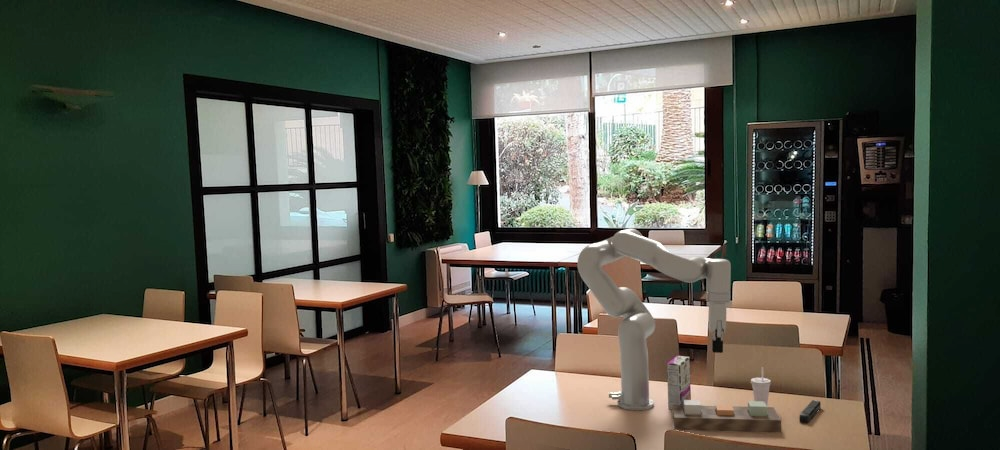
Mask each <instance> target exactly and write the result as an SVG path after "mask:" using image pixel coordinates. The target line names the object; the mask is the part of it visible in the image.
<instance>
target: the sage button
mask: <svg viewBox="0 0 1000 450" xmlns="http://www.w3.org/2000/svg"><path fill="white" fill-rule="evenodd" d="M747 407H748V414H749V416H767V407H768V405H767V406H766V404H765V402H763V401H754V400H748V401H747Z"/></svg>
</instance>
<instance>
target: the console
mask: <svg viewBox="0 0 1000 450" xmlns="http://www.w3.org/2000/svg"><path fill="white" fill-rule="evenodd" d="M732 407H733V410H734V416H732V415H716V405H701V415H693V414H684V405H672V410H671V413H672V415H671V416H672V417H671V418H672V423H673V428H674V430H675V429H677V430H676V431H700V432H704V431H706V432H730V433H731V432H732V433H733V432H736V433H739V432H741V433H766V434H767V433H769V434H771V433H772V434H782V428H783V427H782V419H781V417H780V415H779V414H778V412H777V411H776V409H775V408H774V406H773V407H772V406H770V407H769V406H767V416H749V414H748V406H739V405H738V406H735V405H734V406H733V405H732Z"/></svg>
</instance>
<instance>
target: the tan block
mask: <svg viewBox="0 0 1000 450" xmlns="http://www.w3.org/2000/svg"><path fill="white" fill-rule="evenodd" d="M715 406H716V415H732V416H734V410H733V407H732V406H733V405H732V404H715Z"/></svg>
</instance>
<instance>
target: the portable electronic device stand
mask: <svg viewBox="0 0 1000 450" xmlns="http://www.w3.org/2000/svg"><path fill="white" fill-rule="evenodd" d="M820 408H822V407H821V401H820V400H815V399H812V400H811V401H810V402H809V404H808V405H807V406H805V408H804V409H803V410H802V411H801V412H800V414H799V418H798V419H799V423H800V424H801V423H803V424H807V425H808V424H809V423H810V422H811V421H812V419H814V417H815V416H816V415H815V414H818V412H819V411H820V410H819V409H820ZM818 410H819V411H818ZM817 411H818V412H817ZM814 415H815V416H814ZM813 416H814V417H813ZM810 420H811V421H810Z"/></svg>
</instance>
